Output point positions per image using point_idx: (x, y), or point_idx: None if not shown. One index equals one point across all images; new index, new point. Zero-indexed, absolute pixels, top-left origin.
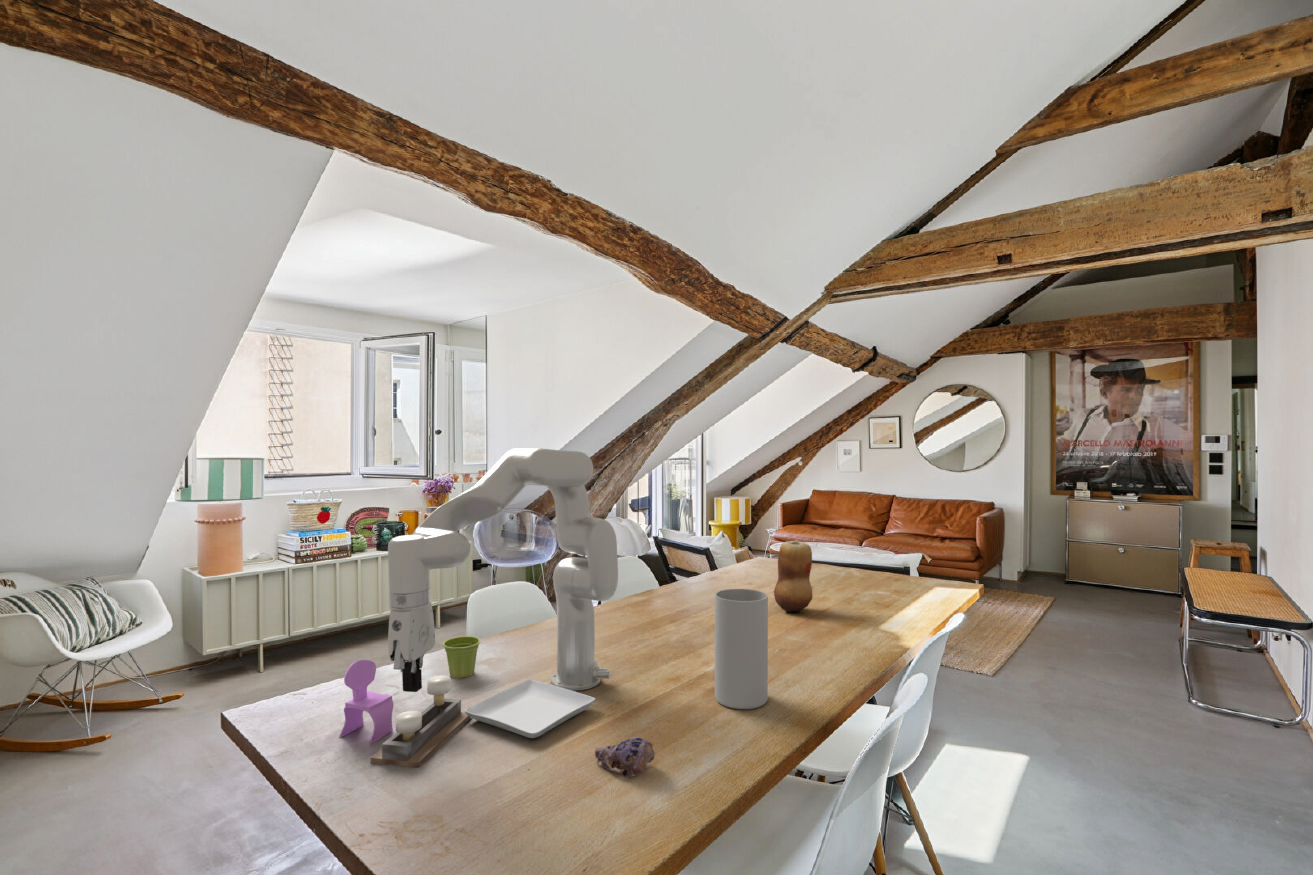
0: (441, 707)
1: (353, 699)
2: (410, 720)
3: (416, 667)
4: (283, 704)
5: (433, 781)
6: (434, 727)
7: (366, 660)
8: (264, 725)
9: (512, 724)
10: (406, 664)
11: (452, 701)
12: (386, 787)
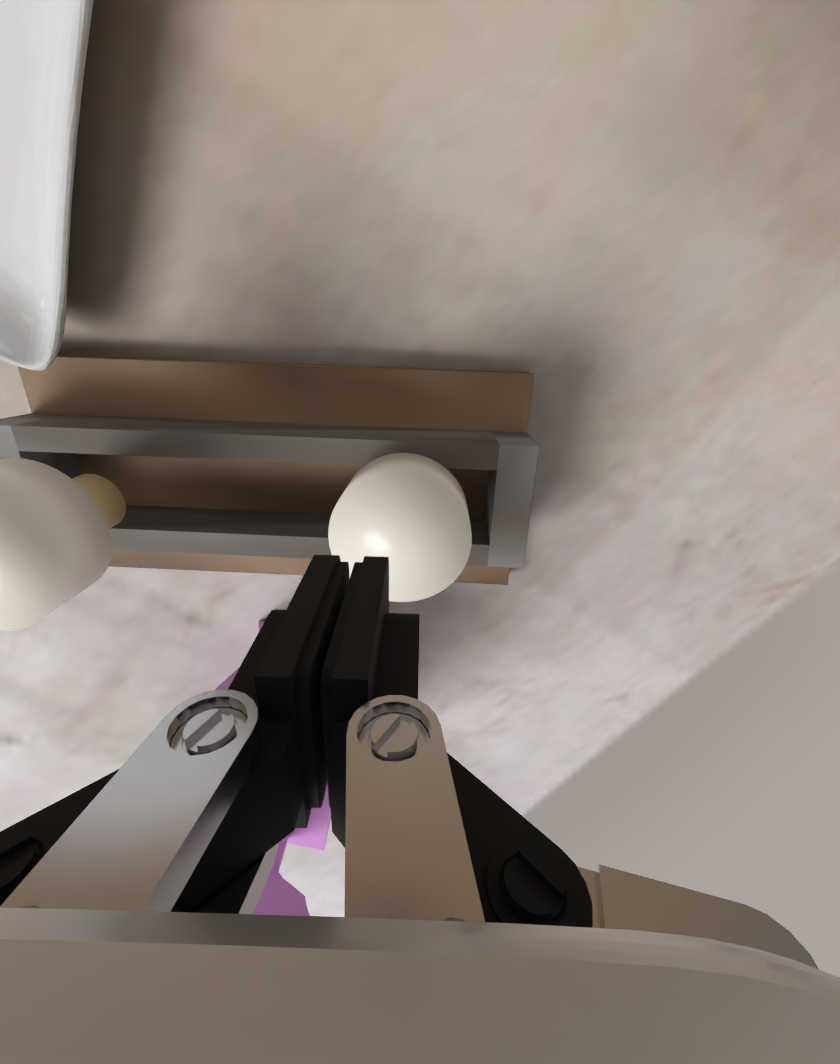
0: None
1: (287, 839)
2: (458, 501)
3: (280, 744)
4: None
5: (650, 235)
6: (278, 431)
7: None
8: None
9: (10, 9)
10: (582, 923)
11: None
12: (686, 426)
